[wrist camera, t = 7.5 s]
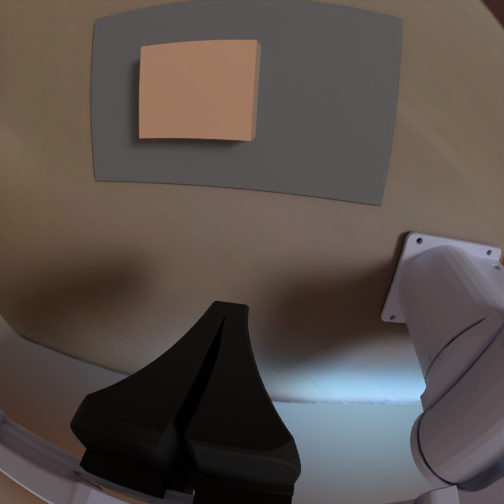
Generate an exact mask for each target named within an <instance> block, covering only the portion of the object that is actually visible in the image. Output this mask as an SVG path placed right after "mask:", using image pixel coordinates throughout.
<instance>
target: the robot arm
mask: <svg viewBox="0 0 504 504" xmlns="http://www.w3.org/2000/svg"><path fill="white" fill-rule="evenodd" d="M418 238H421V240H420V241H419V242H416V240H417V239H418ZM488 250H489V252H488V253H487V251H488ZM500 255H501V250H500V248H499V247H496V246H491V245H486V244H481V243H475V242H470V241H465V240H459V239H453V238H448V237H442V236H436V235H430V234H424V233H418V232H410V233H409V234H408V235H407V236H406V239H405V243H404V246H403V250H402V253H401V257H400V260H399V263H398V266H397V270H396V273H395V276H394V279H393V282H392V285H391V288H390V291H389V294H388V296H387V299H386V302H385V305H384V308H383V310H382V313H381V318H382V320H383V321H385V322H399V323H406V325H407V328H408V330H409V333H410V336H411V339H412V342H413V345H414V348H415V351H416V354H417V357H418V360H419V364H420V367H421V370H422V373H423V377H424V380H425V383H426V389H425V391H424V393H423V394H422V395H421V396H420V398H421V402H422V406H423V410H424V412H423V413H422V414H421V415H419V417H418V418H417V419H416V421H415V422H414V425H413V427H412V430H411V437H410V446H411V451H412V456H413V459H414V462H415V464H416V466H417V468H418V469H419V471H420V472H421V474H422V475H423V476H424V477H425V478H426V479H427V480H428V481H429V482H430V483H431V484H433V485H435V486H436V487H438V488H439V489H435V490H431V491H428V492H426V493H423V494H421V495H420V496H418V497H417V498H416V499H412V500H407V501H401V502H394V503H388V504H504V267H503V266H502V265H501V263H500V262H499V261H498V260H499V258H500ZM248 312H249V307H248V306H247V305H245V304H237V303H229V302H221V301H215V302H213V303H212V305H211V306H210V307H209V309H208V310H207V311H206V312H205V313H204V315H203V316H202V317H201V318H200V319H199V320H198V321H197V323H196V324H195V325H194V326H193V327H192V328H191V329H190V330H189V331H188V332H187V333H186V334H185V335H184V336H183V337H182V338H181V339H180V340H179V341H177V342H176V343H175V344H174V345H173V346H172V347H171V348H170V349H169V350H167V351H166V352H165V353H164V354H162V355H161V356H160V357H158V358H157V359H156V360H154V361H153V362H151V363H150V364H149V365H147V366H146V367H144V368H143V369H141V370H139V371H138V372H136V373H134V374H133V375H131V376H129V377H127V378H125V379H123V380H121V381H120V382H118V383H116V384H114V385H111V386H109V387H107V388H104V389H102V390H99V391H97V392H94V393H91V394H88V395H87V396H86V397H85V399H84V400H83V402H82V403H81V405H80V406H79V408H78V410H77V412H76V414H75V415H74V417H73V419H72V421H71V423H70V426H71V430H72V431H73V433H74V434H75V436H76V437H77V438H78V439H79V440H80V442H81V443H82V444H83V445H84V446H85V447H86V451H85V453H84V456H83V458H80V457H77V456H75V455H73V454H71V453H69V452H67V451H65V450H63V449H61V448H59V447H57V446H55V445H53V444H51V443H49V442H48V441H46V440H44V439H42V438H40V437H38V436H37V435H35V434H33V433H31V432H30V431H28V430H26V429H25V428H23V427H21V426H20V425H18V424H17V423H15V422H13V421H12V420H10V419H9V418H7V417H6V415H5V414H4V413H3V411H2V410H1V409H0V470H1V471H2V472H3V473H4V474H6V475H8V476H9V477H10V478H11V479H13V480H14V481H15V482H17V483H18V484H20V485H22V486H23V487H24V488H26V489H27V490H29V491H30V492H32V493H33V494H35V495H36V496H38V497H40V498H41V499H43V500H45V501H46V502H48V503H50V504H137V503H134V502H131V501H128V500H126V499H123V498H120V497H118V496H115V495H112V494H110V493H107V492H105V491H103V490H102V489H101V487H99V486H97V485H100V486H102V487H104V488H107V489H109V490H112V491H115V492H117V493H120V494H122V495H125V496H128V497H131V498H134V499H137V500H140V501H143V502H146V503H149V504H291V502H292V496H293V493H294V484H295V482H296V480H297V479H298V477H299V476H300V473H301V464H300V458H299V454H298V451H297V447H296V444H295V441H294V438H293V436H292V435H291V434H290V432H289V431H288V429H287V428H286V426H285V425H284V423H283V421H282V420H281V418H280V416H279V415H278V413H277V411H276V410H275V407H274V405H273V403H272V401H271V399H270V397H269V395H268V393H267V391H266V389H265V387H264V384H263V382H262V380H261V377H260V374H259V371H258V368H257V365H256V362H255V359H254V355H253V351H252V347H251V342H250V337H249V331H248ZM392 315H394V316H393V317H391V316H392ZM92 482H93V483H92ZM94 483H95V484H97V485H95V484H94ZM193 490H194V491H195V495H193Z"/></svg>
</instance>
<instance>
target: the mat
mask: <svg viewBox="0 0 504 504" xmlns="http://www.w3.org/2000/svg"><path fill="white" fill-rule="evenodd" d="M204 40H257V41H258V42H259V44H260V45H261V56H260V72H259V88H258V103H257V119H256V135H255V138H254V139H253V140H251V141H242V140H225V139H200V138H139V82H140V58H141V47H143V46H150V45H158V44H167V43H176V42H188V41H204ZM401 41H402V19H400V18H396V17H393V16H389V15H385V14H381V13H377V12H372V11H368V10H363V9H358V8H353V7H347V6H341V5H335V4H328V3H321V2H312V1H303V0H197V1H188V2H179V3H172V4H165V5H159V6H153V7H147V8H142V9H137V10H132V11H128V12H123V13H119V14H115V15H111V16H107V17H104V18H100V19H97V20H95V27H94V38H93V52H92V73H91V122H92V145H93V159H94V171H95V181H131V182H155V183H174V184H191V185H205V186H218V187H231V188H242V189H253V190H263V191H273V192H282V193H291V194H299V195H307V196H315V197H323V198H331V199H338V200H345V201H352V202H359V203H365V204H372V205H378V206H381V202H382V197H383V192H384V187H385V181H386V176H387V170H388V164H389V159H390V152H391V146H392V139H393V132H394V124H395V116H396V108H397V99H398V88H399V76H400V62H401Z"/></svg>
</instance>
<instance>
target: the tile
mask: <svg viewBox="0 0 504 504" xmlns="http://www.w3.org/2000/svg"><path fill="white" fill-rule="evenodd" d="M260 56H261V45H260V44H259V42H258V41H257V40H204V41H188V42H176V43H167V44H158V45H150V46H143V47H141V58H140V82H139V138H200V139H225V140H242V141H251V140H253V139H254V138H255V135H256V119H257V103H258V88H259V72H260Z"/></svg>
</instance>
